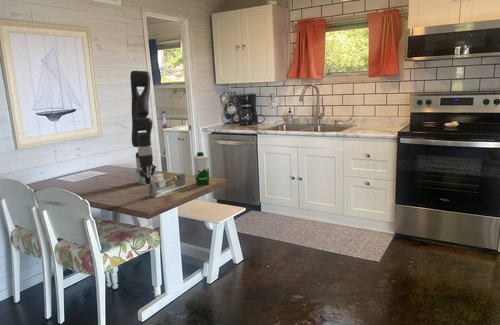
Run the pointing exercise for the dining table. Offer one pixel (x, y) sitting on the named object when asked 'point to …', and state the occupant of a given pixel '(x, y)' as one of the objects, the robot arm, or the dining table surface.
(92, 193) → the dining table surface
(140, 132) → the robot arm
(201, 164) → the milk carton
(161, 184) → the cream stepped block
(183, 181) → the cord rig
